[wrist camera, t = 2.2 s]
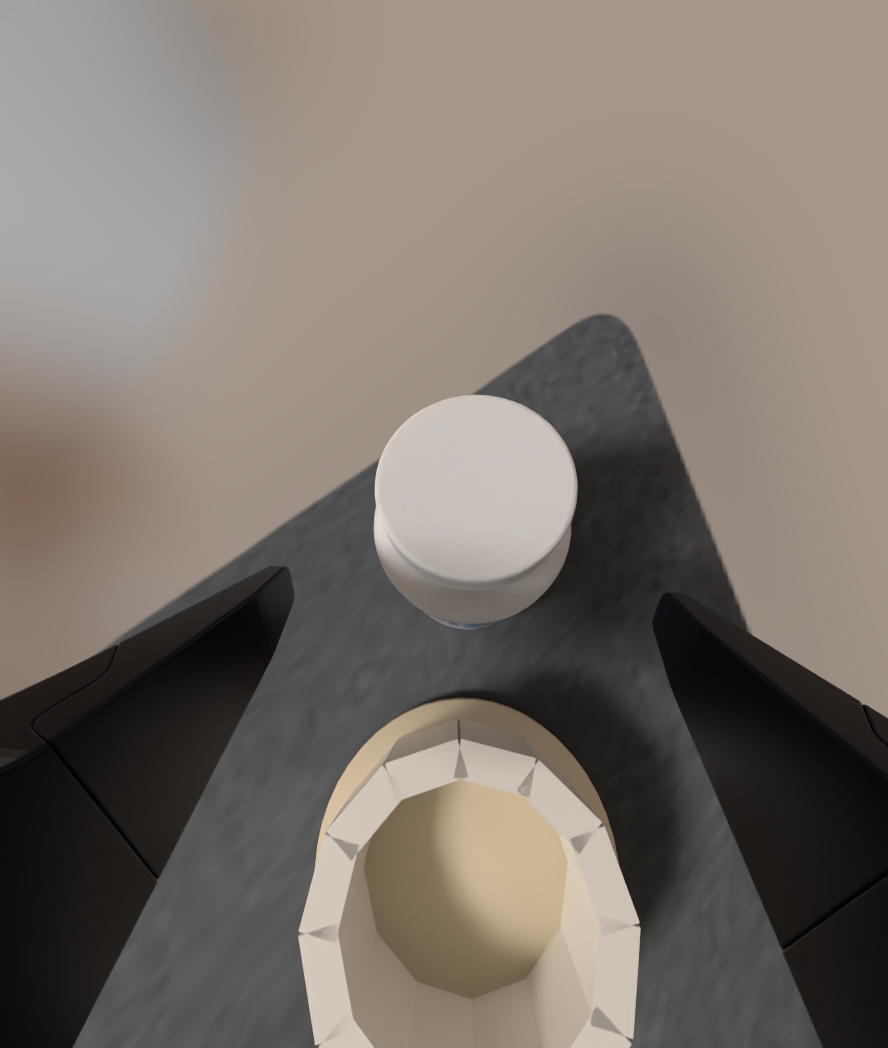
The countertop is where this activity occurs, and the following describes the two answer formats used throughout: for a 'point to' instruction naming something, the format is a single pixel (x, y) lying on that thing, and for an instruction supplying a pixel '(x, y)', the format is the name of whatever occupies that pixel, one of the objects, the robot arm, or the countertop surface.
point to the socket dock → (468, 893)
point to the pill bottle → (474, 509)
